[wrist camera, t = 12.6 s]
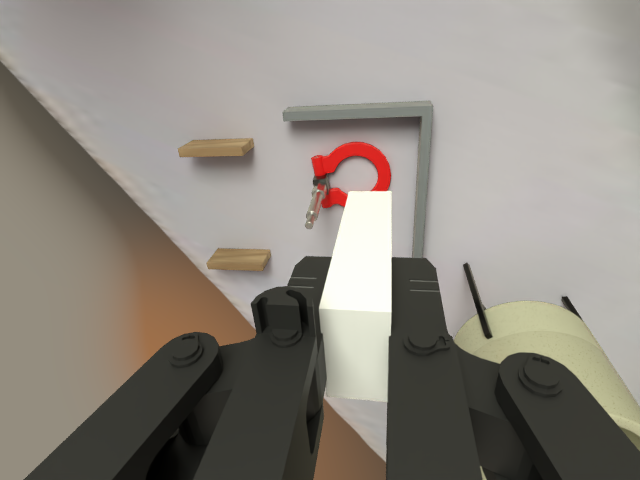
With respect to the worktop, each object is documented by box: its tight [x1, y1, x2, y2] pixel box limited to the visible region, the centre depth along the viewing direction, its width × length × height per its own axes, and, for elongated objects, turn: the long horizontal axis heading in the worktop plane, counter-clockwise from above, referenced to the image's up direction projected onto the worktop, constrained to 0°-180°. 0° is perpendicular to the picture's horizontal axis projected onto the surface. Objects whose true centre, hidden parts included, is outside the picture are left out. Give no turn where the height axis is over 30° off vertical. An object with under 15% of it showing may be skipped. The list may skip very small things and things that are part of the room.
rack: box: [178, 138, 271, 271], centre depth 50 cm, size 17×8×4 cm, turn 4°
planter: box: [454, 263, 640, 480], centre depth 43 cm, size 15×16×23 cm
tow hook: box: [305, 142, 391, 229], centre depth 42 cm, size 8×13×9 cm
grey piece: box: [283, 101, 433, 258], centre depth 47 cm, size 24×16×3 cm, turn 4°
